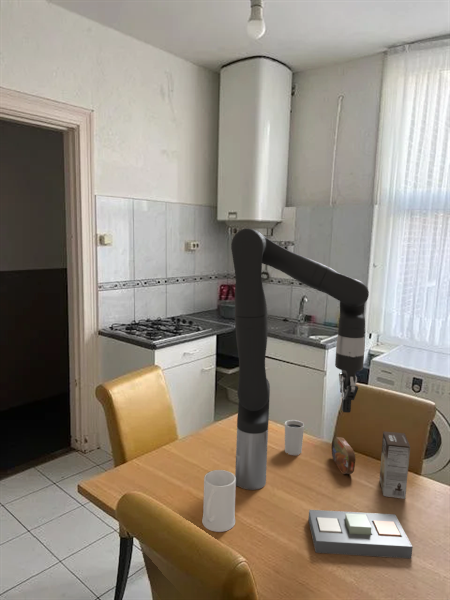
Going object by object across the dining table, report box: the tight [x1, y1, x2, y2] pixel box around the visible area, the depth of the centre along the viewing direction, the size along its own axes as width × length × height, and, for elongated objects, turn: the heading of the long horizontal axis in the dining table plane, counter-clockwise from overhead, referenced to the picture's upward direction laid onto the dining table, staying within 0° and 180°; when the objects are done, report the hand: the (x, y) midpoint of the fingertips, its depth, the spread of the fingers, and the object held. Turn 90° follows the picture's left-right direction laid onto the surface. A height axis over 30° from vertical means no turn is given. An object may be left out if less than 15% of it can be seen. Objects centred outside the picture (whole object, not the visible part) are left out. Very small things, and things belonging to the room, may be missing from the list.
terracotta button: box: [373, 520, 401, 537], centre depth 107 cm, size 5×5×3 cm
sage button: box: [345, 513, 371, 535], centre depth 107 cm, size 5×5×3 cm
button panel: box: [308, 509, 413, 559], centre depth 107 cm, size 22×12×3 cm, turn 87°
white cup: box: [284, 419, 305, 456], centre depth 150 cm, size 7×7×10 cm
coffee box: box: [379, 431, 411, 500], centre depth 128 cm, size 9×6×16 cm
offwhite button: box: [317, 517, 341, 533], centre depth 107 cm, size 5×5×3 cm
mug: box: [201, 469, 237, 533], centre depth 110 cm, size 12×8×12 cm
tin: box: [331, 436, 356, 475], centre depth 141 cm, size 15×3×8 cm, turn 5°
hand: (346, 411), depth 123 cm, fingers closed
